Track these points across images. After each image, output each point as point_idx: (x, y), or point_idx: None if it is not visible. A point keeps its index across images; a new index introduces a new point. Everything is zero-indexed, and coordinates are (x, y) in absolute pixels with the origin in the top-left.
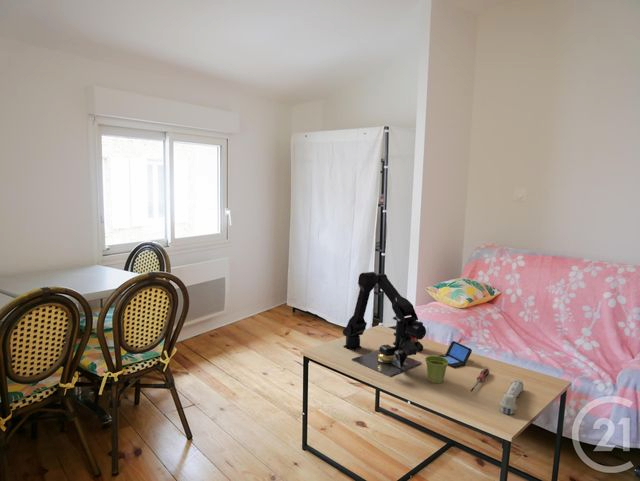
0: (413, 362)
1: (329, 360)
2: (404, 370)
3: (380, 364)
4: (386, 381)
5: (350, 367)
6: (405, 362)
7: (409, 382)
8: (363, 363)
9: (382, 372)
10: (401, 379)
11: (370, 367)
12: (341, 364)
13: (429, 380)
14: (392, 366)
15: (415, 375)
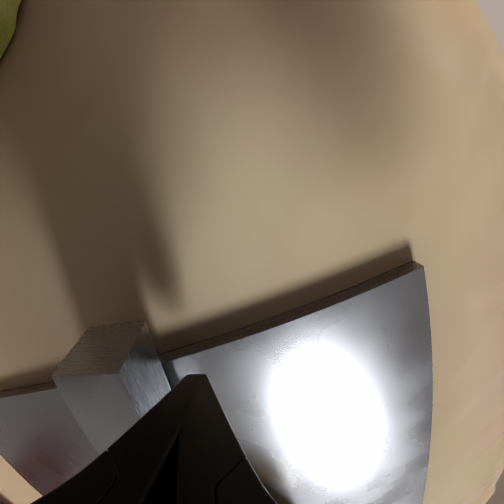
0: (7, 433)
1: (484, 492)
2: None
3: (323, 492)
4: (494, 165)
5: (492, 446)
6: (69, 465)
7: (262, 15)
8: (418, 492)
9: (430, 362)
10: (321, 129)
11: (426, 453)
12: (489, 469)
13: (17, 9)
14: None
15: (53, 192)
